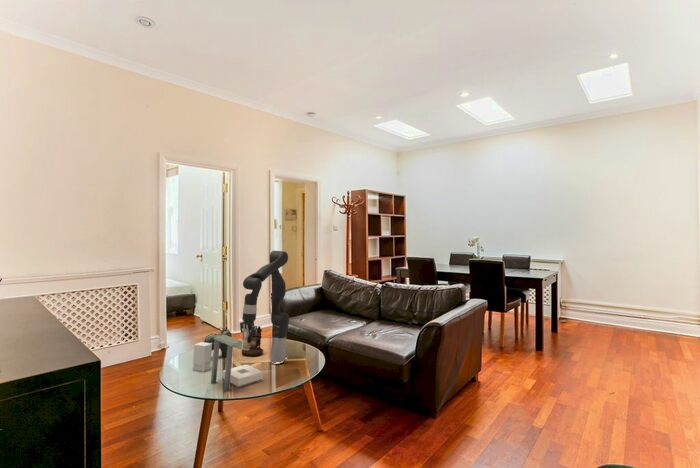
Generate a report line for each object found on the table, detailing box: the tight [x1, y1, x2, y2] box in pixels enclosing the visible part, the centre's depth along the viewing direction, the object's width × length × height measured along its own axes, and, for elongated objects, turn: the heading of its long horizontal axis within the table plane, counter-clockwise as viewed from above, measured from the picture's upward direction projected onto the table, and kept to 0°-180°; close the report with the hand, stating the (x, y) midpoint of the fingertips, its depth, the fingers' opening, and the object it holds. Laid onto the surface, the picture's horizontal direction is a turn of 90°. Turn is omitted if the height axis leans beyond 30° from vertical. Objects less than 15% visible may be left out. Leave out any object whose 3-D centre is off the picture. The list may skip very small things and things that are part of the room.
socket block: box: [221, 363, 264, 389], centre depth 198 cm, size 16×16×5 cm
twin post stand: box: [210, 335, 243, 392], centre depth 189 cm, size 7×17×25 cm, turn 52°
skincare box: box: [192, 341, 213, 373], centre depth 209 cm, size 8×7×16 cm
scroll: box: [241, 325, 264, 357], centre depth 245 cm, size 15×15×20 cm
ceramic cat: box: [203, 327, 233, 358], centre depth 230 cm, size 20×6×20 cm, turn 139°
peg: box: [242, 328, 251, 350], centre depth 199 cm, size 4×4×12 cm
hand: (246, 341), depth 198 cm, fingers closed on peg, 4 cm apart
